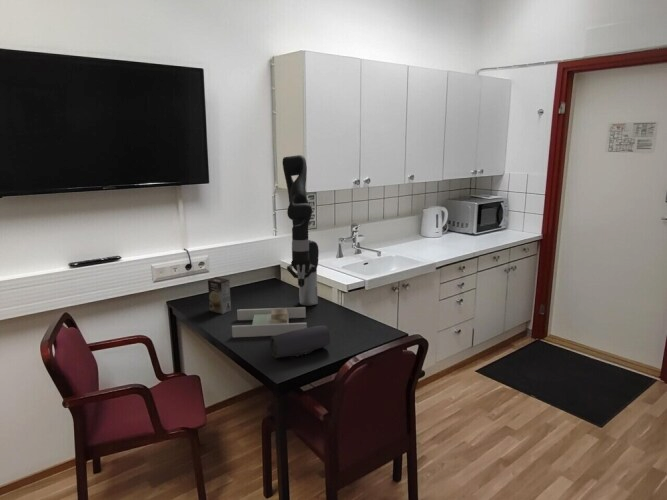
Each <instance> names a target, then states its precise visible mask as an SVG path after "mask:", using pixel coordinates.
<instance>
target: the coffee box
mask: <svg viewBox="0 0 667 500" xmlns="http://www.w3.org/2000/svg"><path fill="white" fill-rule="evenodd" d="M207 287H208V300H209V301H208V302H209V305H208V306H209V311H211V312H214V313H217V314H218V313H219V314H222V315H223V314H225V313H228V312H230V311H232V307H231V306H232V305H231V304H232V303H231V284H230V279H227V278H224V277H218V276H215V277H213V278H210V279H207Z"/></svg>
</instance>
